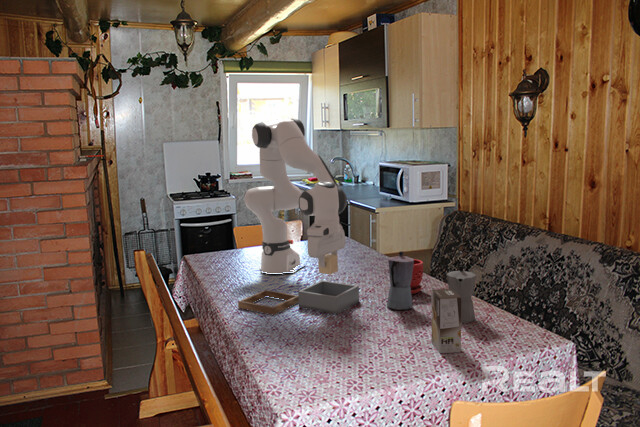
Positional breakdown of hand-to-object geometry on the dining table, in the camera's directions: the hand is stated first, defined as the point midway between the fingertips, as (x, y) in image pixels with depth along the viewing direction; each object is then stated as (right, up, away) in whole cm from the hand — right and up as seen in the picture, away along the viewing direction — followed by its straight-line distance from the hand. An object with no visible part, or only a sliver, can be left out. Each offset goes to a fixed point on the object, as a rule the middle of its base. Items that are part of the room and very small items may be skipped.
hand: (328, 265), depth 194 cm
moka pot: (+25, -15, -3) cm, 30 cm away
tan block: (0, -3, 0) cm, 3 cm away
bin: (0, -15, +2) cm, 15 cm away
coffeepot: (+44, -16, -15) cm, 49 cm away
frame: (-22, -15, +3) cm, 27 cm away
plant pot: (+31, -12, +16) cm, 37 cm away
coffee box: (+33, -20, -39) cm, 55 cm away
